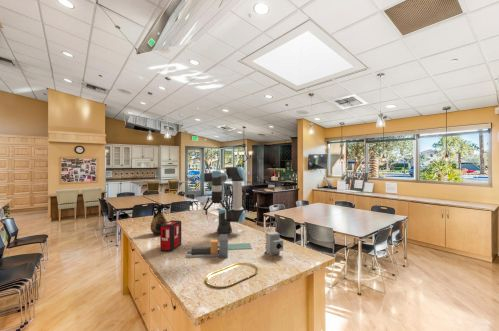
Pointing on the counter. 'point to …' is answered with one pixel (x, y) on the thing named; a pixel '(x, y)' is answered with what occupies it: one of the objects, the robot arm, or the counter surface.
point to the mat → (239, 246)
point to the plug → (206, 249)
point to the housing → (222, 250)
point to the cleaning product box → (170, 236)
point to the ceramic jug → (157, 219)
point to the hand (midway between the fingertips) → (216, 219)
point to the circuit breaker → (273, 243)
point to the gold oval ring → (230, 268)
